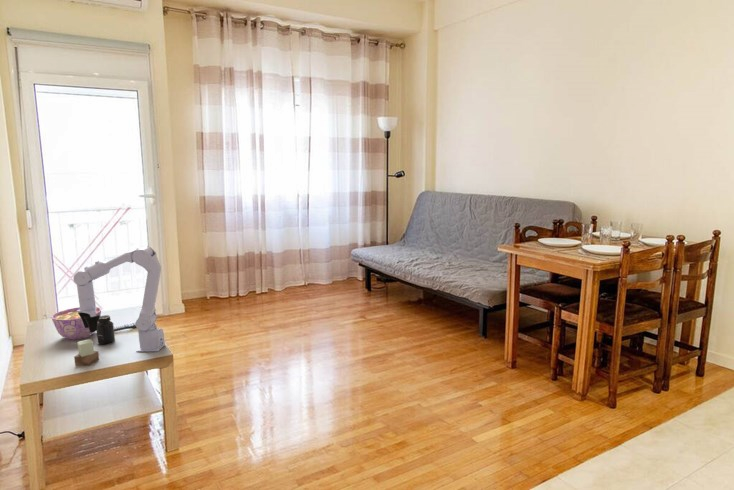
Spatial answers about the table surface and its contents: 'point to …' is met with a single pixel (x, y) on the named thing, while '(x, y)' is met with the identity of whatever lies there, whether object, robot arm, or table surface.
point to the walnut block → (86, 359)
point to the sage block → (85, 347)
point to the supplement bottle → (105, 330)
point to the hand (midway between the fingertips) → (90, 329)
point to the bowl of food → (72, 324)
